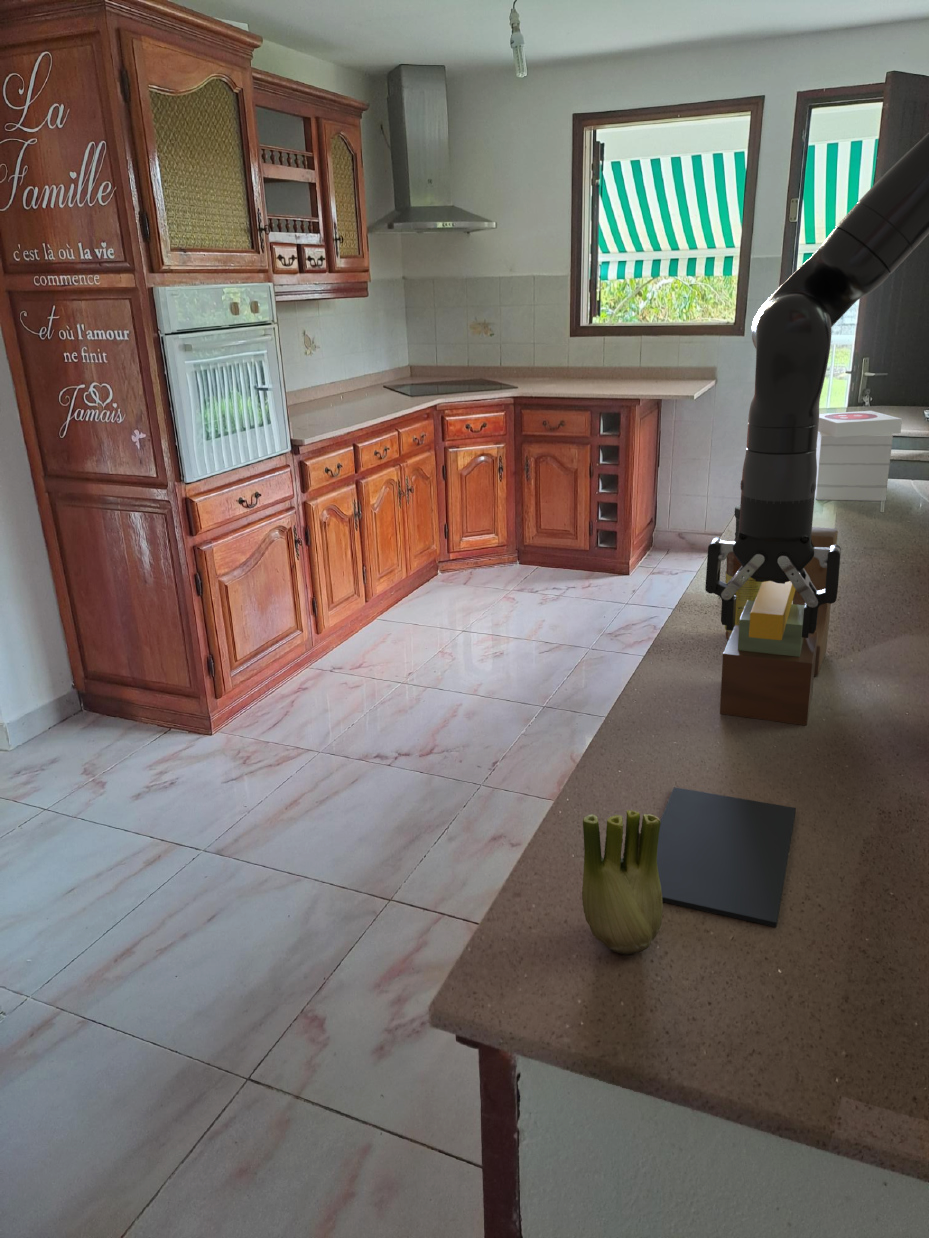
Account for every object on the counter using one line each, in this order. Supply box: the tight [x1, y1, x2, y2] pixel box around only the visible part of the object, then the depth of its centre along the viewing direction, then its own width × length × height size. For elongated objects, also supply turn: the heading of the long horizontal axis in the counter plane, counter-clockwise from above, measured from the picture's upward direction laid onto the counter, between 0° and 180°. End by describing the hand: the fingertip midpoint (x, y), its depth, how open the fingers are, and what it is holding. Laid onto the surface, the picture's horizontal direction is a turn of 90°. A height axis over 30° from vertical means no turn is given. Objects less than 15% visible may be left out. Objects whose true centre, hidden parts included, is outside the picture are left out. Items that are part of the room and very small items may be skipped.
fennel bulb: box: [581, 809, 664, 955], centre depth 70 cm, size 6×5×12 cm
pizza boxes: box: [815, 410, 903, 502], centre depth 212 cm, size 19×30×18 cm, turn 162°
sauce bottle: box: [724, 504, 762, 641], centre depth 126 cm, size 6×6×20 cm
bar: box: [749, 581, 796, 640], centre depth 105 cm, size 18×4×3 cm, turn 156°
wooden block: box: [792, 526, 839, 677], centre depth 117 cm, size 9×4×18 cm, turn 153°
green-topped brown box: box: [719, 601, 818, 726], centre depth 108 cm, size 10×10×12 cm
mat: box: [657, 786, 797, 928], centre depth 82 cm, size 18×12×1 cm, turn 156°
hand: (767, 631), depth 100 cm, fingers open, 7 cm apart
